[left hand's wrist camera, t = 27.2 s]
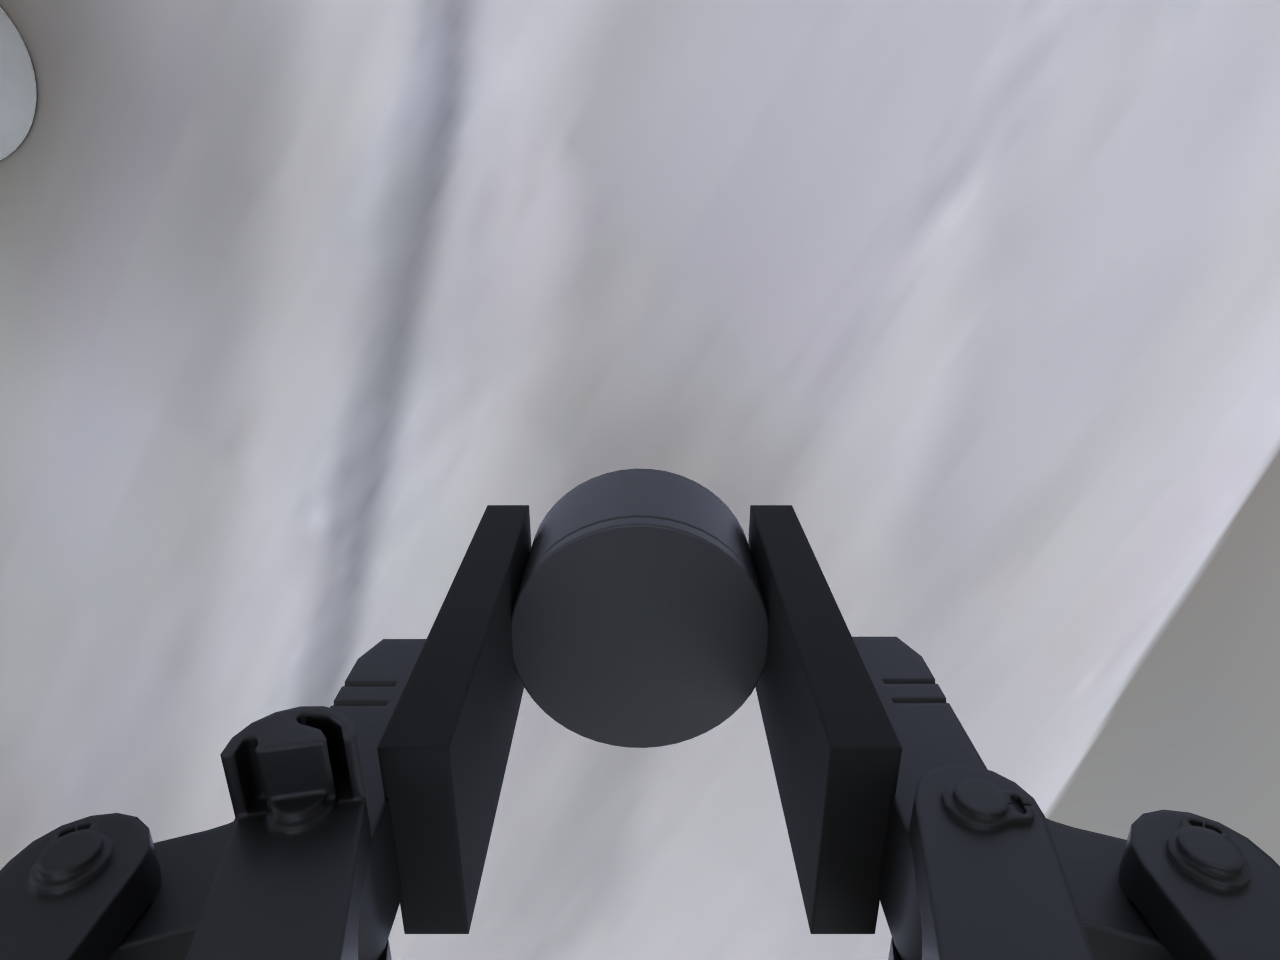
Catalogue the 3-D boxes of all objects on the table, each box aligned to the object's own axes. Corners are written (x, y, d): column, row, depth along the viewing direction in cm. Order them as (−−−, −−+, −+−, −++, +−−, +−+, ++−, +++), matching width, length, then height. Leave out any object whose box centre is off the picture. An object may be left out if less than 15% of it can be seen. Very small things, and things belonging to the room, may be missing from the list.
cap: (718, 439, 14) (732, 492, 12) (773, 634, 15) (797, 714, 13) (497, 503, 14) (469, 566, 12) (572, 686, 16) (559, 772, 13)
